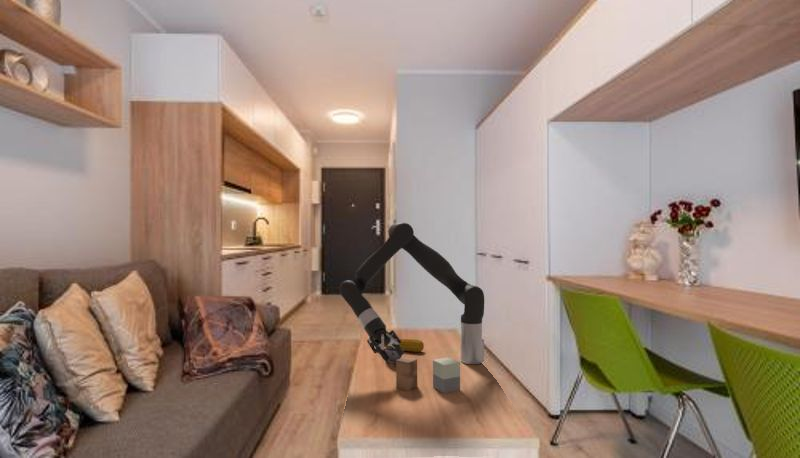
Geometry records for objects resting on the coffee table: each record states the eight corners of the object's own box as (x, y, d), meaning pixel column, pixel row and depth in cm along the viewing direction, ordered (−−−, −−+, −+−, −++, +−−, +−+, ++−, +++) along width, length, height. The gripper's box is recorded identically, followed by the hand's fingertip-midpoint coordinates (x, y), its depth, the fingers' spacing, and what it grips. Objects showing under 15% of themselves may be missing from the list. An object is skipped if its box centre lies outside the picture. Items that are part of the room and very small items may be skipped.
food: (424, 351, 204) (424, 338, 204) (420, 354, 199) (420, 341, 199) (384, 347, 212) (384, 334, 213) (379, 349, 207) (379, 337, 207)
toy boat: (381, 356, 194) (382, 327, 193) (398, 355, 196) (399, 327, 195) (387, 369, 180) (388, 338, 179) (405, 368, 181) (406, 337, 180)
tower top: (448, 370, 160) (448, 357, 160) (460, 376, 153) (460, 362, 154) (432, 373, 156) (432, 359, 156) (443, 379, 150) (443, 365, 150)
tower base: (448, 384, 160) (448, 370, 160) (460, 390, 153) (460, 376, 153) (433, 387, 156) (433, 373, 156) (443, 393, 150) (443, 379, 150)
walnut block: (405, 383, 160) (405, 356, 160) (417, 386, 157) (417, 359, 157) (396, 387, 156) (396, 360, 156) (408, 391, 152) (408, 362, 153)
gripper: (364, 319, 159) (388, 356, 152) (388, 314, 171) (412, 347, 164) (354, 332, 163) (377, 368, 156) (378, 325, 174) (401, 359, 167)
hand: (395, 357), depth 160 cm, fingers open, 8 cm apart
